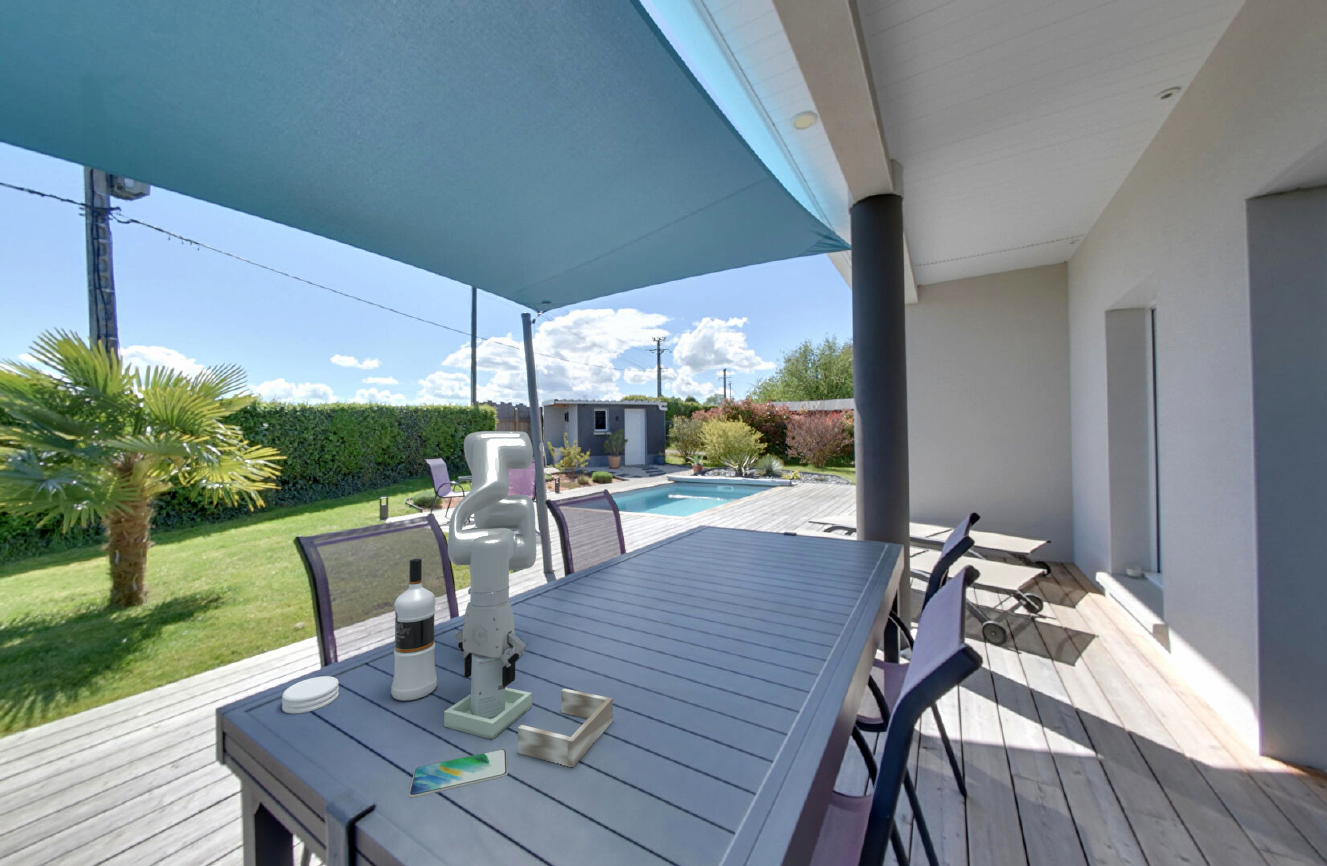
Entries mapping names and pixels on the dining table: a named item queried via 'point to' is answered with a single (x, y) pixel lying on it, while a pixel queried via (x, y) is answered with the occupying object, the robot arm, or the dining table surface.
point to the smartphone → (458, 773)
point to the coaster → (310, 694)
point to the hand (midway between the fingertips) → (489, 679)
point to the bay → (579, 743)
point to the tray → (490, 727)
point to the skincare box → (487, 686)
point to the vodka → (414, 639)
